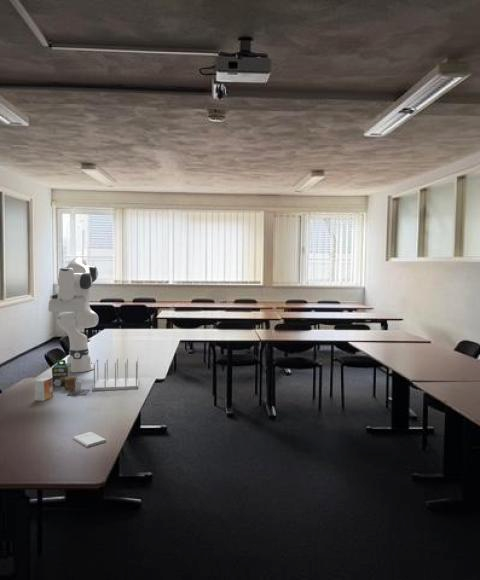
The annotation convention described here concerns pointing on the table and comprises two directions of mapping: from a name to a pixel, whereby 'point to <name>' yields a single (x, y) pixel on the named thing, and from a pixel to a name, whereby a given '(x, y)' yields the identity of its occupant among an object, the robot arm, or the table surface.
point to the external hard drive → (89, 439)
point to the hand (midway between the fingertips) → (67, 319)
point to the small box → (43, 388)
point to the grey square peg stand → (78, 390)
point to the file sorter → (116, 383)
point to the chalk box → (61, 373)
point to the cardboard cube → (70, 382)
